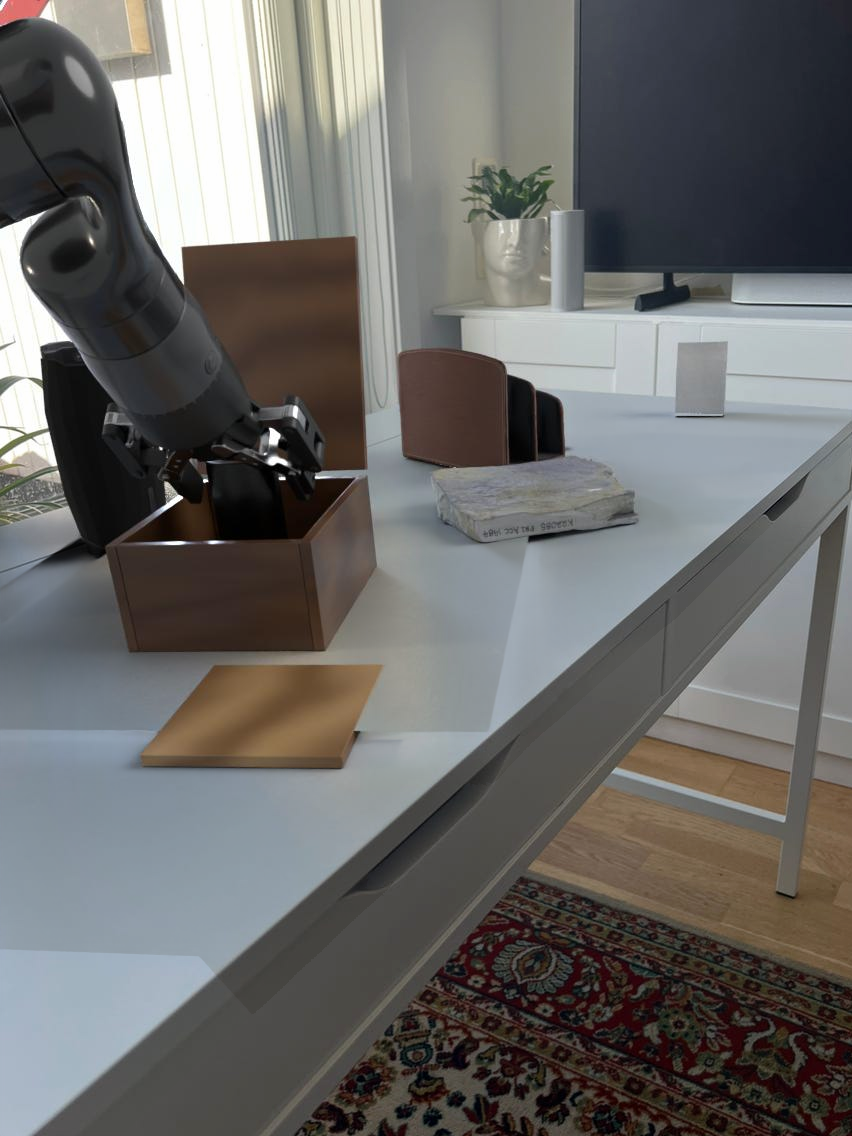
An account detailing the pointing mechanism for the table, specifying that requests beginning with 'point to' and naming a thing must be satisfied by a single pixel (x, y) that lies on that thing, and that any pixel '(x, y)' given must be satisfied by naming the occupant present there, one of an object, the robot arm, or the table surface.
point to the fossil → (531, 498)
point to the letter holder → (474, 411)
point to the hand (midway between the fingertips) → (251, 491)
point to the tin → (246, 501)
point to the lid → (291, 330)
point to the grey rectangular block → (701, 377)
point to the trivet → (267, 717)
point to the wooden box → (245, 574)
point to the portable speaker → (91, 452)
